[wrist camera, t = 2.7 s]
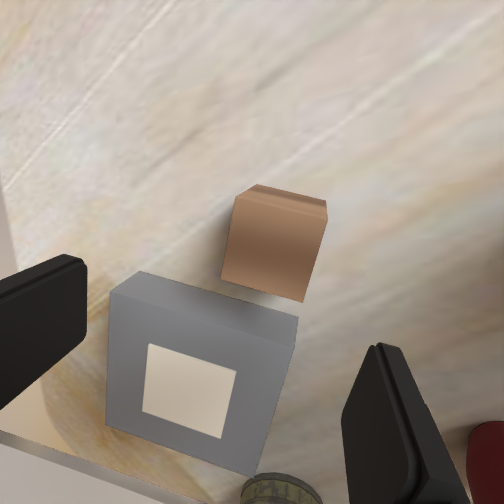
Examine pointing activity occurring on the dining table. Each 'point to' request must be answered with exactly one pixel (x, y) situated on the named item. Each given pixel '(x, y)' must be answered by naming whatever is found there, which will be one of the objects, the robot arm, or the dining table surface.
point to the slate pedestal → (195, 369)
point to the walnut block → (274, 241)
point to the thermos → (278, 490)
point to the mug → (486, 463)
